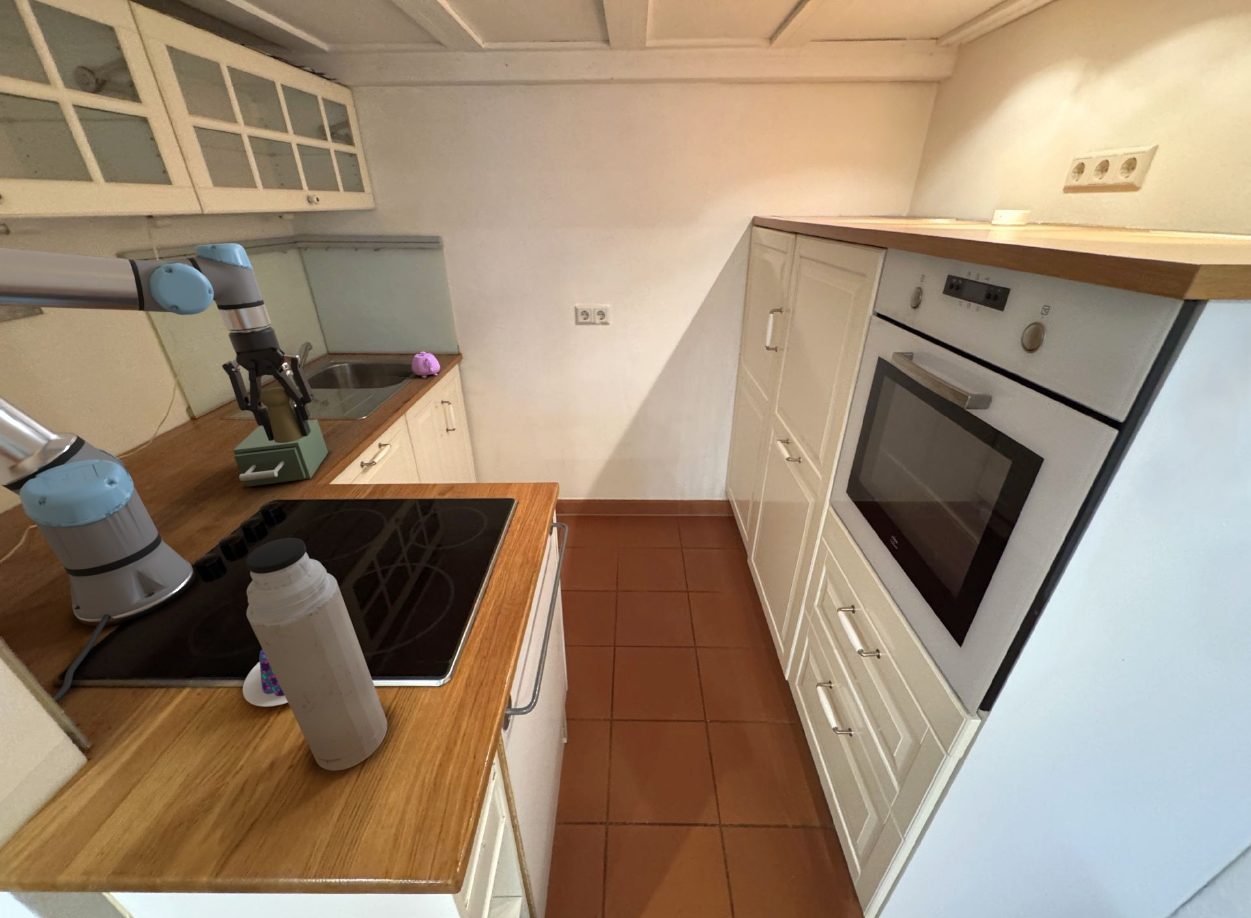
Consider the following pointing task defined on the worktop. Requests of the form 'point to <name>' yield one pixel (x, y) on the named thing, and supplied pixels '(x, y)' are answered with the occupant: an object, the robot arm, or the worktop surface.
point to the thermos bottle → (314, 653)
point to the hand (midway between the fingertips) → (290, 435)
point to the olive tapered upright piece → (281, 415)
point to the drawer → (270, 466)
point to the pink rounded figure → (425, 364)
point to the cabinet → (307, 447)
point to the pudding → (263, 685)
